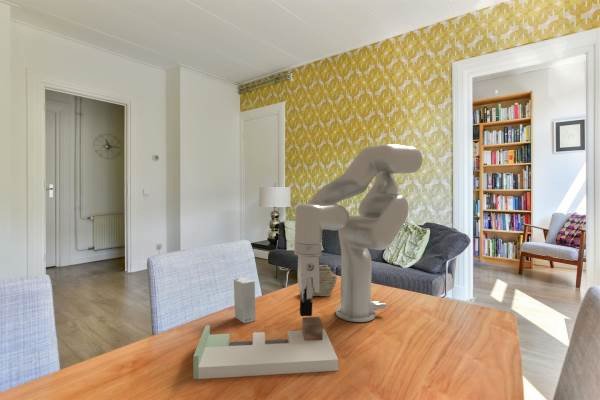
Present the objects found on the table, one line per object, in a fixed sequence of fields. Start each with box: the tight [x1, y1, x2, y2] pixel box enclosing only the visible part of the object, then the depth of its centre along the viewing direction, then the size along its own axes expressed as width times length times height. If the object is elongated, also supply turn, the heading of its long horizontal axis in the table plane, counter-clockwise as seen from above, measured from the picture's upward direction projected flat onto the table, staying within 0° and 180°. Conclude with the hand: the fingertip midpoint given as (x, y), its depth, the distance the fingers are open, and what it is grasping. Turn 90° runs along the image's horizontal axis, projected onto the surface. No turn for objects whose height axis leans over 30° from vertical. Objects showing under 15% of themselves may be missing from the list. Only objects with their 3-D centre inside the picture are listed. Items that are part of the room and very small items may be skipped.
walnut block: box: [301, 316, 324, 341], centre depth 81 cm, size 4×4×4 cm
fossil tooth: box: [299, 264, 338, 297], centre depth 121 cm, size 12×6×15 cm
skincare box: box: [233, 276, 257, 324], centre depth 97 cm, size 6×4×12 cm
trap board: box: [192, 324, 339, 380], centre depth 76 cm, size 31×15×5 cm, turn 97°
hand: (305, 314), depth 88 cm, fingers closed
